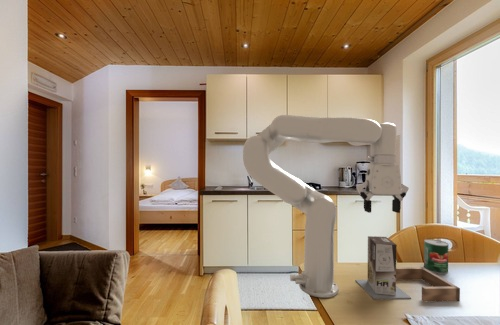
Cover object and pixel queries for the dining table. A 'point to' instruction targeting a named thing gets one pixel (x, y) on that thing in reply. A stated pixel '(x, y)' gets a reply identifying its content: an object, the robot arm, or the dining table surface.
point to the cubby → (440, 289)
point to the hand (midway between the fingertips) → (381, 211)
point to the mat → (370, 291)
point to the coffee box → (382, 265)
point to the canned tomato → (436, 256)
